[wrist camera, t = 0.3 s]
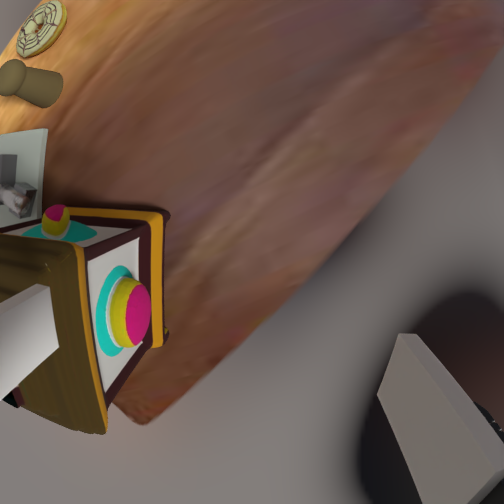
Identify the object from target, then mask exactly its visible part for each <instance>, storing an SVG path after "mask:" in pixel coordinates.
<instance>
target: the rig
mask: <svg viewBox="0 0 504 504" xmlns="http://www.w3.org/2000/svg"><path fill="white" fill-rule="evenodd" d="M47 135H48V129H44V128H43V129H35V130H27V131H20V132H14V133H8V134H2V135H0V184H2V183H7V184H9V185H10V186H12V187H13V188H14V185H15V183H24V182H26V183H28V184H30V185H31V186H33V187H34V188H36V189H38V190H37V193H36V197H35V201H34V205H33V209H32V213H31V217H26V218H22V219H19V218H18V217H16V216H15V215H13V214H12V213H11V212H9V207H7V206H6V205H5V204H3V203H2V202H1V201H0V228H1V227H5V226H9V225H13V224H18V223H22V222H26V221H30V220H35V219H39V218H42V189H43V172H44V161H45V151H46V142H47Z"/></svg>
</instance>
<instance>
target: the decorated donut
mask: <svg viewBox="0 0 504 504" xmlns="http://www.w3.org/2000/svg"><path fill="white" fill-rule="evenodd" d="M66 22H67V12H66V8H65V6H64V5H63V4H62V3H61V2H59V1H57V0H55V1H49V2H47V3H44V4H42V5H40V6H39V7H38V8H37V9H36V10H35V11H34V12H33V13H32V14H31V15H30V16H29V18H28V19H27V20H26V22H25V23H24V25H23V26H22V28H21V30H20V33H19V36H18V39H17V45H16V48H17V52H18V53H19V54H20V55H21V56H23V57H32V56H35V55H37V54H39V53H41V52H43V51H44V50H46V49H48V48H49V47H50V46H51V45H53V43H54V42H55V41H56V40H57V39H58V37H59V36H60V34H61V33H62V31H63V29H64V27H65V25H66Z"/></svg>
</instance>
